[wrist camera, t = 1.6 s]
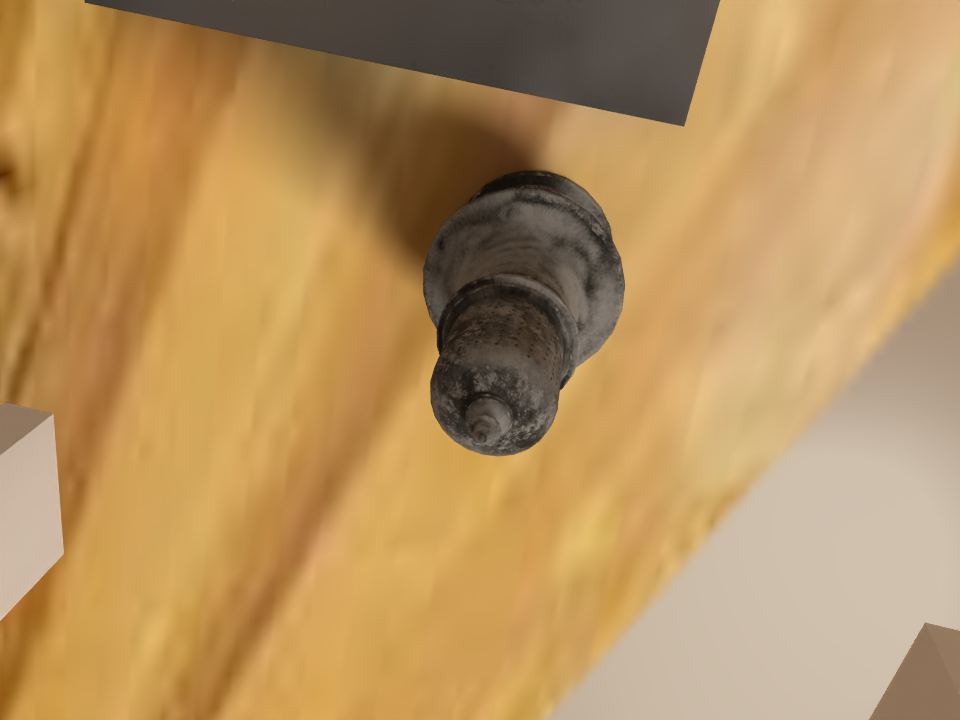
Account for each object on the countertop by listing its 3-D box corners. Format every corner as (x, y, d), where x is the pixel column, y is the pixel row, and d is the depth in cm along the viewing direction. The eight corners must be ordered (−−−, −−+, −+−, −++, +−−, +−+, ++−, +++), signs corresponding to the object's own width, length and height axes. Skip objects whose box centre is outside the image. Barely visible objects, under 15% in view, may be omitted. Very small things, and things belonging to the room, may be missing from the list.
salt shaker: (557, 123, 25) (520, 240, 14) (657, 276, 26) (691, 485, 16) (409, 226, 27) (278, 396, 16) (510, 361, 28) (451, 598, 18)
